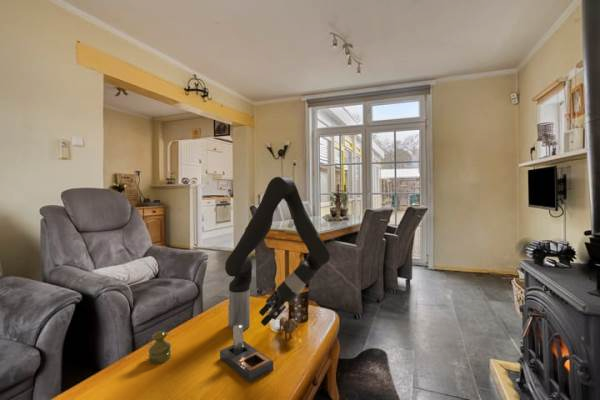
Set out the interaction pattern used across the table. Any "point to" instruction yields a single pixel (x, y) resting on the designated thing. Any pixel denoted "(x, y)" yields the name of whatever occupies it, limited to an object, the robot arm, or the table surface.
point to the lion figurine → (288, 326)
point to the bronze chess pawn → (159, 348)
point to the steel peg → (237, 339)
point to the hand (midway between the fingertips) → (261, 319)
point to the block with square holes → (247, 362)
